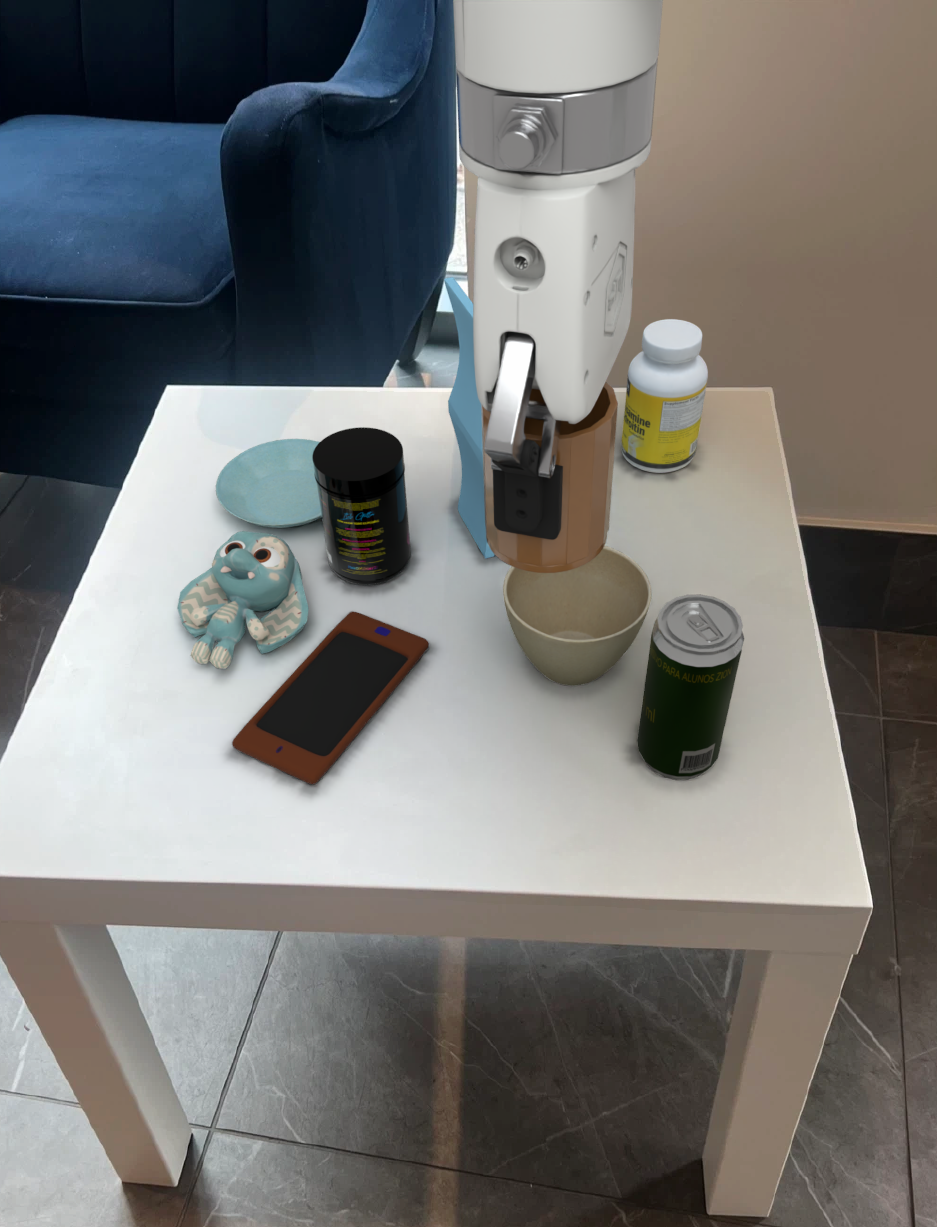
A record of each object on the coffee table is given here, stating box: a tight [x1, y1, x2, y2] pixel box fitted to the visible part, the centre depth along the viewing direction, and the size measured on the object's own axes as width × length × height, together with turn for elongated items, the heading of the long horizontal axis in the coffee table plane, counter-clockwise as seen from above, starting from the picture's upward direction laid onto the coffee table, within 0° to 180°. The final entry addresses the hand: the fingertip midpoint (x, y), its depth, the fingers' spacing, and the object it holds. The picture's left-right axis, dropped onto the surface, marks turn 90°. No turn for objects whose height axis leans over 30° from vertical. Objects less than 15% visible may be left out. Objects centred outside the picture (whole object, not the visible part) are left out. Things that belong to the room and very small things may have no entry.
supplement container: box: [312, 426, 412, 586], centre depth 85 cm, size 7×7×10 cm
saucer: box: [215, 438, 322, 529], centre depth 94 cm, size 12×12×2 cm
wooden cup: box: [481, 381, 619, 573], centre depth 55 cm, size 6×6×8 cm
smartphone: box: [231, 610, 430, 785], centre depth 78 cm, size 7×1×15 cm
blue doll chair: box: [443, 276, 495, 559], centre depth 84 cm, size 8×8×20 cm
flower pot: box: [502, 545, 653, 687], centre depth 77 cm, size 10×10×7 cm
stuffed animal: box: [176, 530, 310, 670], centre depth 82 cm, size 11×7×12 cm
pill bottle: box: [620, 318, 709, 474], centre depth 92 cm, size 6×6×12 cm
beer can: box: [636, 593, 745, 781], centre depth 69 cm, size 5×5×12 cm
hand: (547, 485), depth 56 cm, fingers closed on wooden cup, 6 cm apart
